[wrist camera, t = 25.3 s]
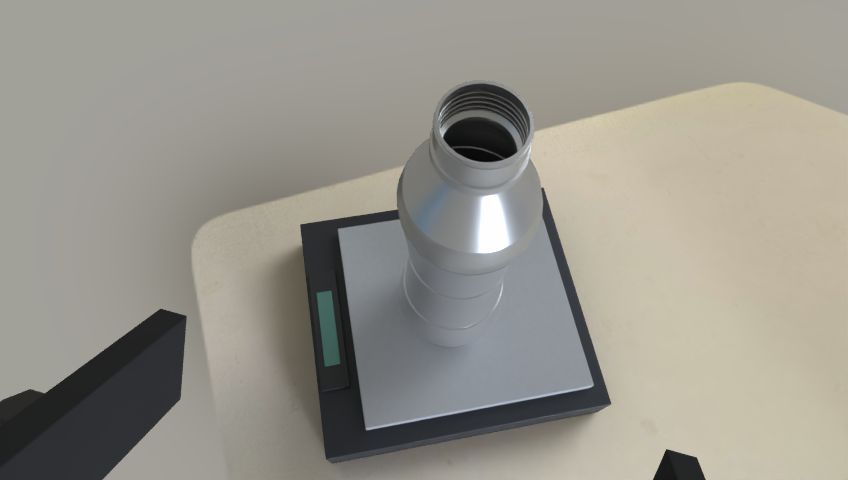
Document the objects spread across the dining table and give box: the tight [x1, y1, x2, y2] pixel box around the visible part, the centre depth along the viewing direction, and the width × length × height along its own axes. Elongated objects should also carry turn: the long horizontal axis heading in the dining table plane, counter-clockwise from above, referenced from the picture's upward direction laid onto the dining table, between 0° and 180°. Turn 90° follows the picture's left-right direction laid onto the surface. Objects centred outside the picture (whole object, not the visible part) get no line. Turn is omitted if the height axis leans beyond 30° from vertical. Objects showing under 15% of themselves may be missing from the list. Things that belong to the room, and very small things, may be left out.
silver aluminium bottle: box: [397, 81, 543, 347], centre depth 30 cm, size 6×7×20 cm
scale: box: [300, 188, 611, 463], centre depth 41 cm, size 18×16×4 cm
